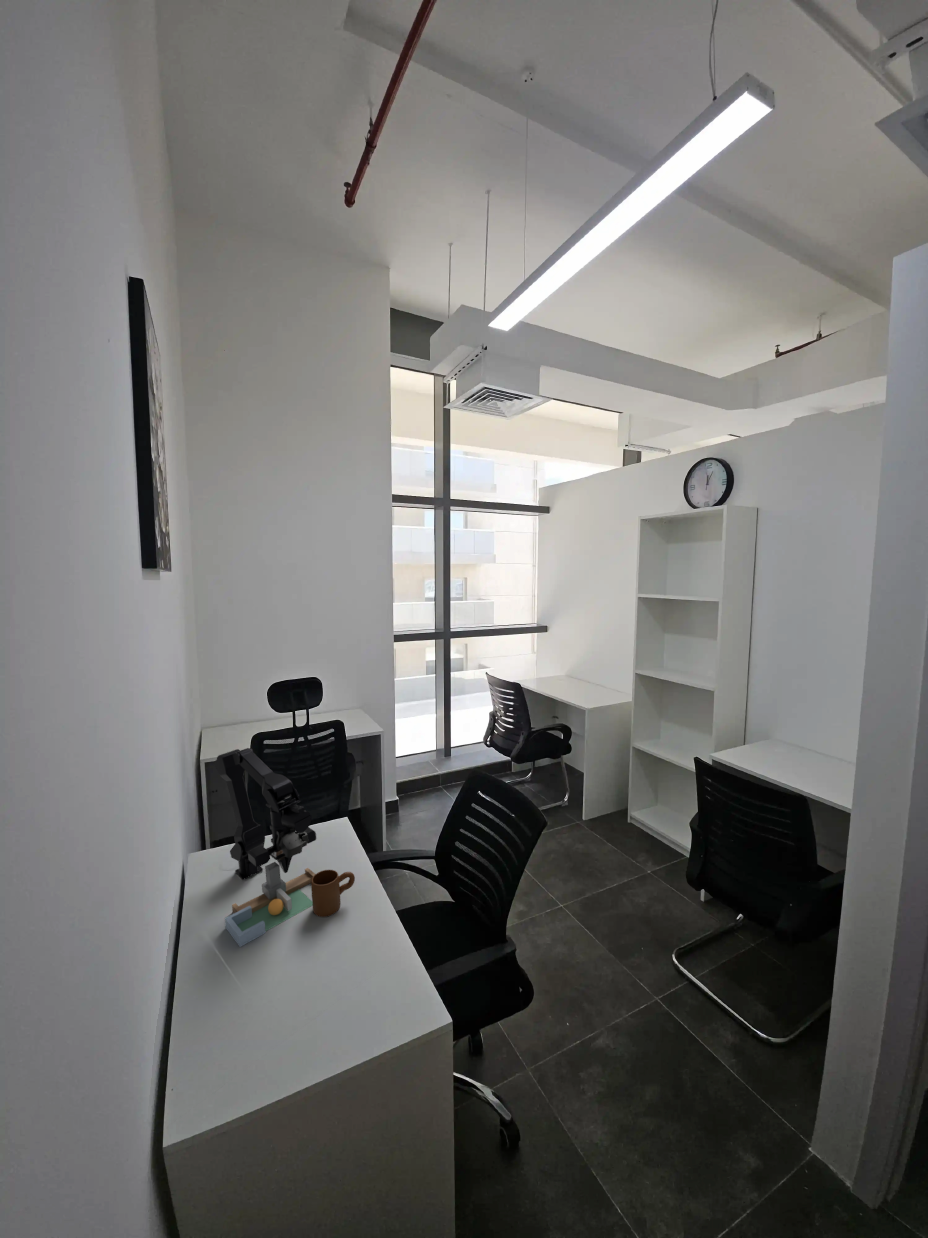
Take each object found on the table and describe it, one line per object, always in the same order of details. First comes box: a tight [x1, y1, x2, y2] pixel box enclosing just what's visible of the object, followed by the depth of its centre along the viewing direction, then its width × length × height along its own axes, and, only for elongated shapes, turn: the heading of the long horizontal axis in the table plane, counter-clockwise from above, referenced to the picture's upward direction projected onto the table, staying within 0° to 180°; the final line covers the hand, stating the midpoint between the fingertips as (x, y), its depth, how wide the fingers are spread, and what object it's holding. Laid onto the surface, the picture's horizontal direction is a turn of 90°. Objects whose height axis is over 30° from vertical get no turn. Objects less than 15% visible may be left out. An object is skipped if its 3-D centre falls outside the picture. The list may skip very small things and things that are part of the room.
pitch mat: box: [237, 889, 313, 932], centre depth 135 cm, size 10×21×1 cm, turn 135°
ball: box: [268, 899, 284, 915], centre depth 135 cm, size 4×4×4 cm
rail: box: [231, 867, 316, 914], centre depth 143 cm, size 5×23×2 cm, turn 135°
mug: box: [310, 869, 356, 918], centre depth 137 cm, size 12×8×9 cm, turn 112°
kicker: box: [261, 861, 292, 911], centre depth 139 cm, size 12×5×9 cm, turn 45°
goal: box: [224, 906, 267, 948], centre depth 129 cm, size 10×7×3 cm, turn 45°
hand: (285, 872), depth 145 cm, fingers closed
